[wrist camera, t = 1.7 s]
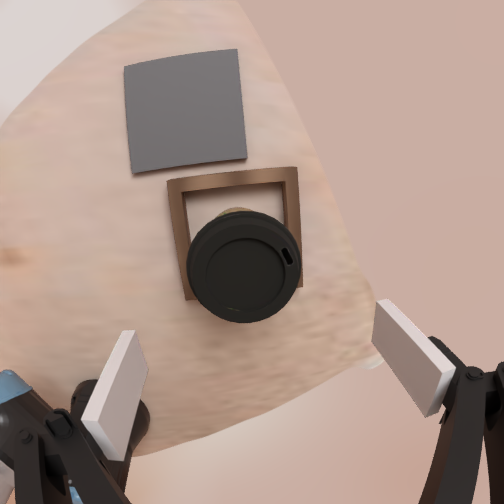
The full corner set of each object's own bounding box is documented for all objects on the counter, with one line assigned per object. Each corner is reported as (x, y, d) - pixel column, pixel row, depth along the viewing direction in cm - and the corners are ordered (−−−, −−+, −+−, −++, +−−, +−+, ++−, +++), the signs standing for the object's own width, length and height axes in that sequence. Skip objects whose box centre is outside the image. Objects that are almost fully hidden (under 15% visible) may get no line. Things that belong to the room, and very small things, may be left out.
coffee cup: (184, 215, 37) (160, 251, 23) (255, 178, 36) (276, 192, 22) (221, 280, 40) (220, 346, 26) (288, 247, 39) (323, 298, 25)
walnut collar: (187, 292, 40) (185, 300, 38) (170, 179, 35) (166, 180, 33) (298, 279, 41) (302, 286, 39) (292, 166, 36) (297, 167, 34)
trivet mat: (134, 173, 35) (132, 173, 34) (126, 68, 30) (124, 66, 29) (246, 157, 35) (247, 157, 35) (236, 51, 31) (237, 48, 30)
